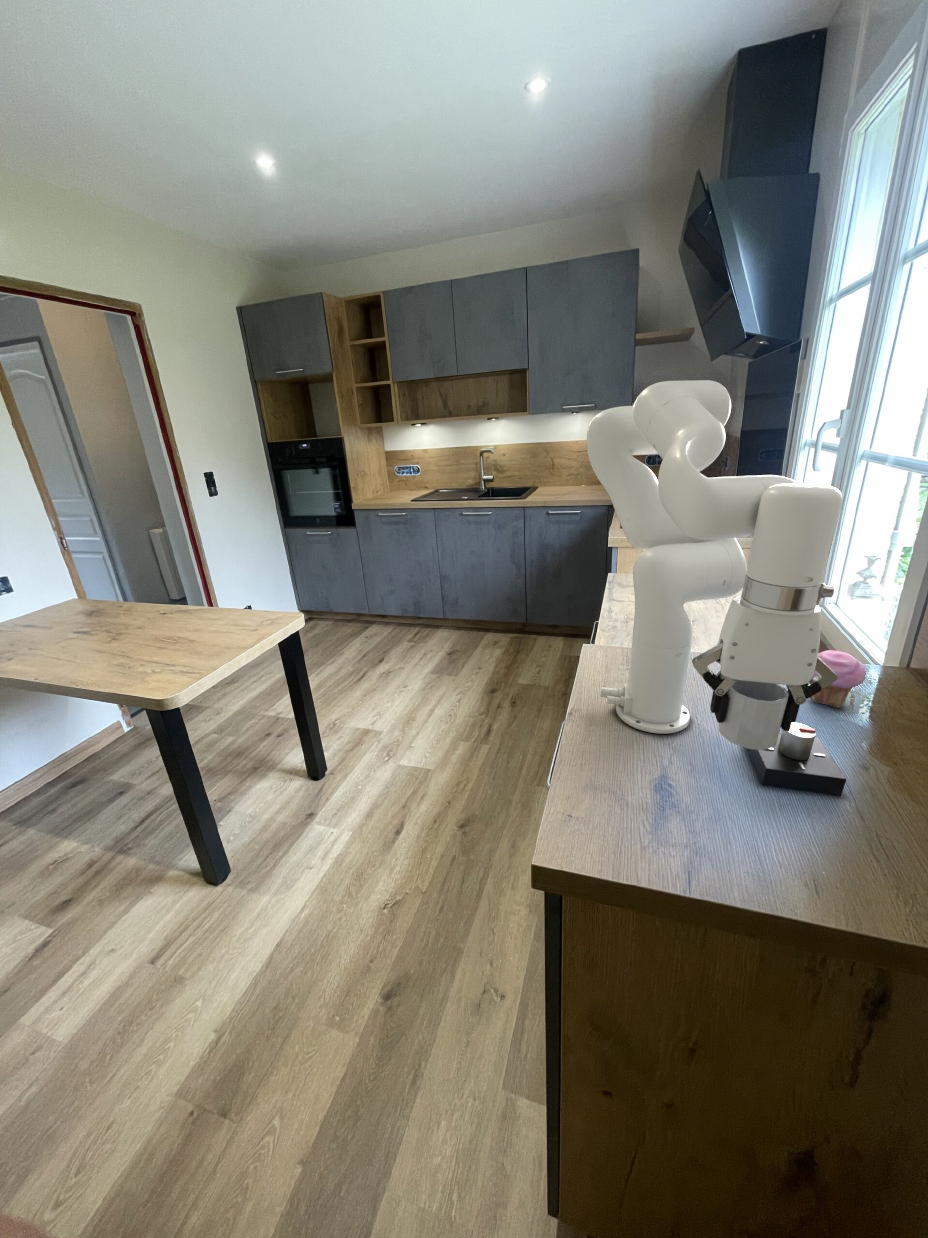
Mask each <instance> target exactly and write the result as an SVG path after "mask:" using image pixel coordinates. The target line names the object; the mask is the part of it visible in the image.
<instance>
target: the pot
mask: <svg viewBox="0 0 928 1238" xmlns="http://www.w3.org/2000/svg"><path fill="white" fill-rule="evenodd" d="M787 691H788V690H787V688H786V687H784V686H783V685H782V684H772V683H761V682H752V681H742V680H737V681H736V682H735V683H734V684H733V685H732V686H731V688H730V689H729V690H728V691H727V695H728V697H729V701H728V706H727V710H726V715H725V720H724V722H722V723H718V724H717V725H718V727H717V729H718V732H719V734H720V735H721V736H722V737H723V738H724V739H725V740H727V741H728V742H730V743H731V744H733V745H736V746H738V747H741V748H745V749H747V748H749V749H755V750H765V749H770V748H772V747H774V746H775V745H776V743H777V739H778V735H779V733H781V729H782V728H781V724H782V720H783V716H784V712H785V709H786V705H787V701H788V697H789V693H788V692H787Z"/></svg>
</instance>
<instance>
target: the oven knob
mask: <svg viewBox="0 0 928 1238" xmlns="http://www.w3.org/2000/svg"><path fill="white" fill-rule="evenodd" d="M781 733H782V734H781V738H780V742H779V746H778V749H779V751H780V752H781V753H782V754H783V755H785V756H787V757H789V758H792V759H795V760H806V759H808V758H809V757H810V754H811V750H812V746H813V743H814V739H815V737H816V736H817V730H816V729H815V728H814V727H813V728H812V727H810V726H808V725H806V724H803V723H800V722H796V721H795V722H792V723H791V727H790V730H789V731H784V730H783V729H781Z"/></svg>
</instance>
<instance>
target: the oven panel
mask: <svg viewBox="0 0 928 1238" xmlns="http://www.w3.org/2000/svg"><path fill="white" fill-rule="evenodd" d="M781 734H782V732H779V735H778V739H777V743H776V745H775V746H774V747H772V748H770V749H765V750H755V749H749V748H746V751H747V753H748V756H749V757H750V760H751V762H752V764H753V768H754V769H755V772H756V774H757V777H758V778H759V781H760V783H761V785H762V786H769V787H774V788H781V789H788V790H795V791H797V790H798V791H802V792H808V793H809V792H810V793H817V794H824V795H831V796H837V797H841V796H842V794H843V791H844V788H845V786H846V782H847V778H846V776H845V775H844V773H843V772H842V770H841V769H840V767H839V766H838V763H836V761H835V760H834V758H833V757H832V755H831V754H830V753H829V751H828V749H827V748H826V747H825V745H824V744H823V742H822V740H821V739H820V738H819V737H816V736H815V739H814V743H813V746H812V750H811V754H810V757H809V758H808V759H806V760H795V759H792V758H789V757H787V756H785V755H783V754H782V753H781V752H780V751H779V749H778V746H779V742H780V738H781Z"/></svg>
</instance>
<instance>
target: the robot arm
mask: <svg viewBox="0 0 928 1238" xmlns="http://www.w3.org/2000/svg"><path fill="white" fill-rule="evenodd" d="M731 410H732V400H731V397H730V394H729V391H728V390H727V388H726V386H724V385H722V383H720V382H717V381H715V380H710V379H698V380H692V379H691V380H690V379H689V380H687V379H686V380H664V381H659V382H655V383H653V384H651V385H648V386H647V387H646V388H644V389H643V390H642V391H641V392H640V393H639V395H637V397H636V399H635V400H634V403H633V405H622V406H615V407H611V408H607V409H604V410H602V411H599V412H598V413H597V414H596V415H595V416H594V417H593V418H592V419H591V421H590V422H589V425H588V427H587V432H586V451H587V456H588V461H589V463H590V466H591V469H592V471H593V473H594V474H595V476H596V478H597V480H598V481H599V482H600V484H601V486H602V487H603V488H604V489H605V491H606V493H607V495H608V496H609V498H610V500H611V504H612V506H613V509H614V511H615V514H616V516H617V518H618V521H619V523H620V526H621V529H622V531H623V534H624V536H625V538H626V540H627V541H628V543H629V544H630V546H631V547H633V548H634V549H636V550H639V551H642V552H641V553H640V554H639V555H638V556H637V557H636V559H635V561H634V563H633V568H632V580H633V591H634V593H633V594H634V616H633V626H632V627H633V628H632V637H631V638H632V639H631V647H630V657H629V667H628V676H627V682H624V686H623V687H618V688H611V687H605V686H601V687H600V698H605V699H607V701H606V703H607V704H609V705H616V706H615V711H616V714H617V716H618V718H620V720H622V721H623V722H624V723H625V724H627V725H628V726H630V727H632V728H635V729H636V730H640V731H643V732H646V733H651V734H659V735H661V734H663V735H666V734H675V733H679V732H680V731H683V730H685V729H686V728H687V727H688V726H689V724H690V719H691V714H690V711H689V710H688V708H687V707H686V706H685V705H684V704H683V702H684V696H685V691H686V690H685V689H686V683H687V677H688V670H689V665H690V657H691V651H692V644H693V638H694V624H693V621H692V619H691V618H690V616H689V614H688V613H687V611H686V610H685V604H686V603H693V602H699V601H709V600H710V601H711V600H720V599H726V598H730V597H733V596H734V597H733V598H732V600H731V602H730V604H729V606H728V609H727V611H726V614H725V617H724V620H723V623H722V626H721V630H720V633H719V637H718V640H717V644H716V645H715V646H713V647H711V648H710V649H708V650H706V651H704V652H702V653H700V654H699V655H696V656H695V657H693V658H692V660H691V663H692V666H693V668H694V669H695V670H696V672H697V673H698V674H699V675H700V676H701V678H702V679H703V681H704V682H705V683H706V684H707V685H708V686H709V687H710V688H711V690H712V695H711V701H710V706H709V707H710V713H711V714H714V716H715V719H716V721H717V723H718V724H719V723H722V722H724V720H725V715H726V710H727V706H728V701H729V697H728V695H727V691H728V690H729V689H730V688H731V686H732V685H733V684H734V683H735V682H736V681H737V680H742V681H752V682H761V683H772V684H780V685H781V686H783V685H784V686H785V688H786V690H787V692H788V693H789V697H788V701H787V705H786V709H785V712H784V716H783V720H782V724H781V728H780V729H781V730H784V731H789V730H790V727H791V723H792V722H795V723H796V721H797V717H798V713H799V710H800V706H801V705H804V704H805V703H806V702H807V700H808V699H810V697H811V696H813V695H815V694H817V693H819V692H820V691H821V689H822V688H825V687H827V686H828V685H830V684H831V683H833V682H835V681H836V680H837V679H838V676H837V675H836V674H835V673H834V671H833V670H832V669H830V668H829V667H828V666H827V665H826V664H825V663H824V662H823V661H822V660H821V659H820V658H819V657H818V653H819V650H820V643H821V633H822V632H821V631H822V630H821V629H822V608H821V607H820V605H819V603H820V600H821V599H825V598H833V596H834V593H835V588H834V586H833V585H826V584H825V583H824V582H823V579H824V575H825V572H826V568H827V564H828V561H829V557H830V553H831V548H832V545H833V541H834V537H835V534H836V530H837V526H838V522H839V518H840V515H841V511H842V508H843V502H844V501H843V500H844V499H843V493H842V492H841V490H839V489H838V487H834V486H832V485H827V484H820V483H808V482H799V481H797V480H795V479H793V478H789V477H786V476H783V475H777V474H762V475H738V476H735V475H734V476H717V477H707V476H706V475H704V474H702V473H701V472H702V471H704V470H705V469H706V468H708V467H709V466H710V465H711V464H713V462H715V460H716V459H717V458H718V457H719V455H720V454H721V452H722V450H723V448H724V446H725V442H726V438H727V437H726V430H725V425H727V422H728V420H729V418H730V415H731ZM645 455H646V456H647V455H658V456H660V458H661V459H662V461H661V464H660V466H659V470H658V475H657V476H658V477H657V476H656V474H655V473H654V472H653V471H652V469H651V468H649V466H647V464H645V463H644V462H642V461H640V460H639V459H637V458H636V457H634V456H645ZM737 538H752V540H751V547H750V551H749V556H748V562H747V558H746V556H745V554H744V551H743V549H742V547H741V545H740V542H738V539H737ZM740 592H741V595H737V594H738V593H740ZM713 663H717V664H719V665H720V669H719V671H718V672H717V673H714V672H713V670H711V668H709V666H710V665H712V664H713ZM814 670H816V671H817V672H818V673H817V675H816V676H814V678H812V677H813V674H814Z"/></svg>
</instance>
